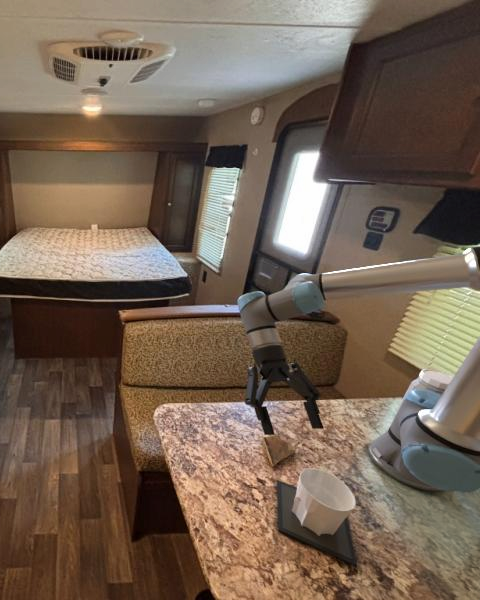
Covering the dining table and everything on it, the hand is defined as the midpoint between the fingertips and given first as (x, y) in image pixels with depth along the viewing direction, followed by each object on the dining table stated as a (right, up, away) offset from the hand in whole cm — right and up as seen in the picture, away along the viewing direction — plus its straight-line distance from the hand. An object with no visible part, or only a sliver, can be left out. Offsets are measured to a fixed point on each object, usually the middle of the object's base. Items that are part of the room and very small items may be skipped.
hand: (294, 431), depth 78 cm
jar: (+57, -8, +25) cm, 63 cm away
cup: (+1, -18, -5) cm, 19 cm away
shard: (+4, -12, +12) cm, 18 cm away
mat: (+1, -19, -4) cm, 19 cm away
